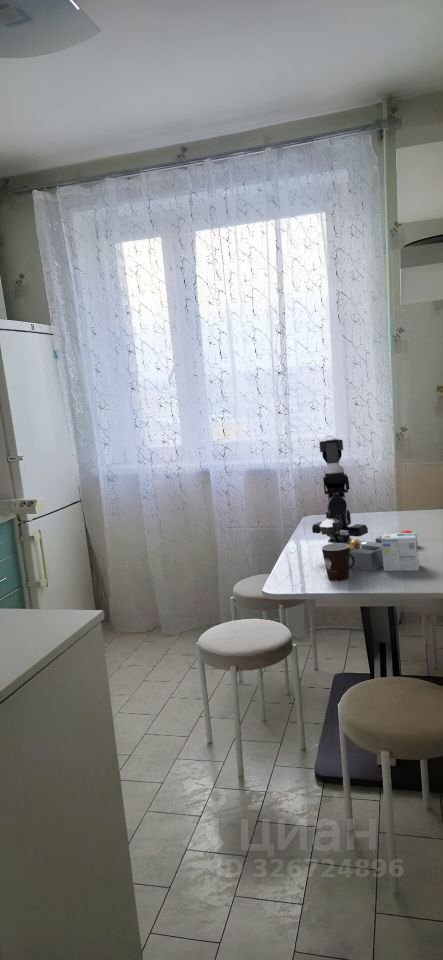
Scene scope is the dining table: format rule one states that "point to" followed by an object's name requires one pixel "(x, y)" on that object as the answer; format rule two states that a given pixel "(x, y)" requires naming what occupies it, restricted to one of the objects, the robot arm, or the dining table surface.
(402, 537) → the light bulb box
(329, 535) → the robot arm
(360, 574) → the dining table surface
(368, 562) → the mount
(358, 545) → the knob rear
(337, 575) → the coffee mug
